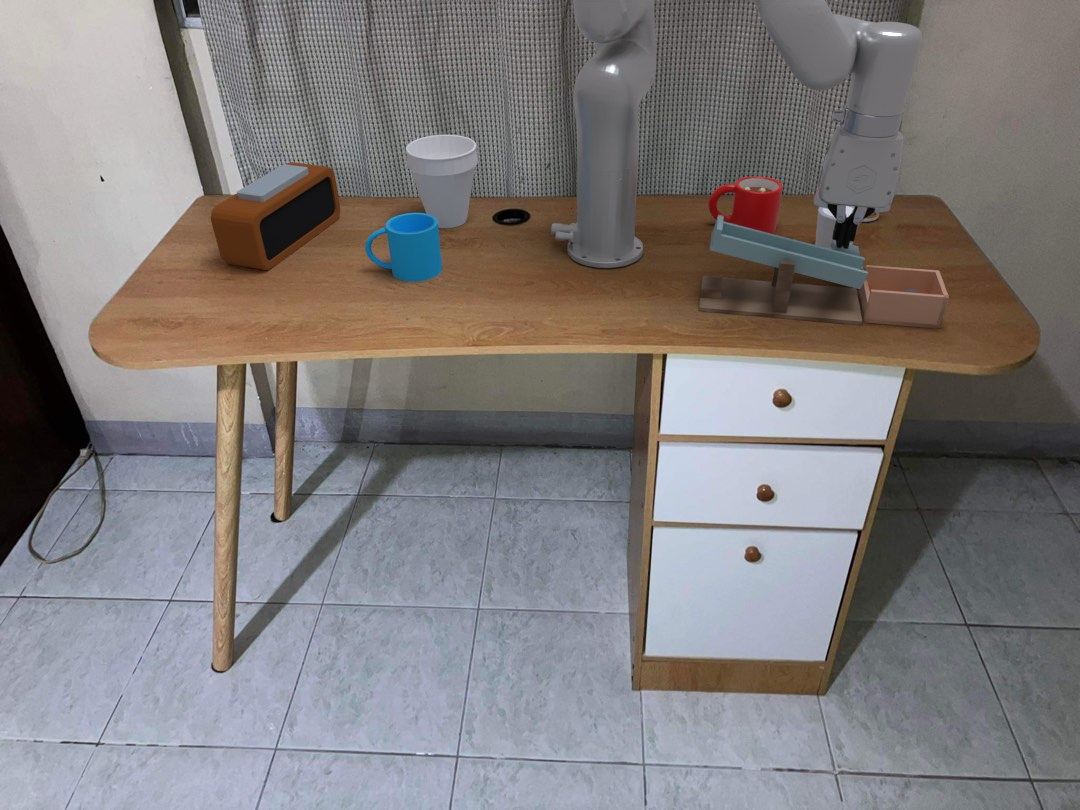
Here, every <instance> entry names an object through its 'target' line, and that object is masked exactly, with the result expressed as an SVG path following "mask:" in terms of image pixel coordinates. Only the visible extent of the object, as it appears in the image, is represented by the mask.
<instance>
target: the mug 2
mask: <svg viewBox="0 0 1080 810" xmlns="http://www.w3.org/2000/svg"><path fill="white" fill-rule="evenodd" d="M729 193H730V194H731V193H733V198H732V199H733V200H732V208H731V215H730V214H729V215H728V214H723V213H722V212H720V211H719V209H718V201H719V200H720V198H721V197H722V196H723V195H725V194H729ZM782 193H783V184H782V183H781V182H780V181H779V180H777V179H774V178H771V177H768V176H759V175H756V176H755V175H754V176H751V175H750V176H745V177H744V176H743V177H741V178H739V179H738V180H736V182H735V183H728V184H723V185H721V186H718V188H716V189H715V190H714V191H713V192H712V193H711V195H710V198H709V200H708V211H709V213H710V215H711V216H712V218H713V219H714V220H715V221H716V220H717V217H718V215H721V216H724V218H723V221H724V222H727V223H731V224H735V225H739V226H743V227H747V228H751V229H755V230H759V231H762V232H766V233H770V234H774V233H775V232H776V231H777V224H778V219H779V211H780V207H781V199H782Z"/></svg>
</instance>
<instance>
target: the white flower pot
mask: <svg viewBox="0 0 1080 810" xmlns="http://www.w3.org/2000/svg"><path fill="white" fill-rule="evenodd" d="M477 146H478V145H477V143H476V142H475V140H473V139H472V138H470V137H467V136H465V135H464V136H463V135H457V134H435V135H428V136H423V137H419V138H418V139H415V140H412V141H410V142H409V143H408V144H407V145H406V148H405V152H406V165H407V166H406V167H407V168H408V169H409V170H410V172H411V175H412V177H413V181H414V183H415V185H416V188H417V191H418V194H419V198H420V201H421V202H422V205H423V209H424V211H425V214H429V215H432V216H434V217H435V218H436V219H437V221H438V229H453V228H457V227H460V226H463V225H464V224H465V223H466V222H467V220H468V213H469V206H470V201H471V196H472V188H473V183H474V176H475V170H476V169H475V168H476V166H477V165H478V162H479V159H478V151H477Z"/></svg>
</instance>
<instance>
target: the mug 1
mask: <svg viewBox="0 0 1080 810" xmlns="http://www.w3.org/2000/svg"><path fill="white" fill-rule="evenodd" d="M439 230H440V228H438V221H437V219H436V218H435V217H434V216H432V215H429V214H426V212H425V213H423V212H409V213H408V212H407V213H403V214H399V215H396V216H394V217H391V218H390V219H388V220H387V222H386V223H385V227H382V228H380V229H377V230H375V231H374V232H373V233H372V234H370V235H369V236H368V238H367V240H366V241H365V247H364V248H365V253H366V256H367V257H368V258H369V260H370V261H371V262H373V264H376V265H377V266H379V267H382V268H384V269H388V270H391V271H392V275H393V276H394V278H395V279H398V280H400V281H404V282H409V283H410V282H411V283H412V282H414V283H415V282H417V283H418V282H424V281H427V280H432V279H434V278H436V277H438V276H439V275H440V274H441V273H442V271H443V261H442V252H441V251H442V250H441V249H442V248H441V239H440V231H439ZM383 234H387V242H388V243H387V244H388V250H389V258H390V262H386V261H383V260H381V259H379V258H378V257H376V255H375V254H374V253H373V250H372V244H373V242H374V240H375V239H377V238H378V237H379V236H382V235H383Z"/></svg>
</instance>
